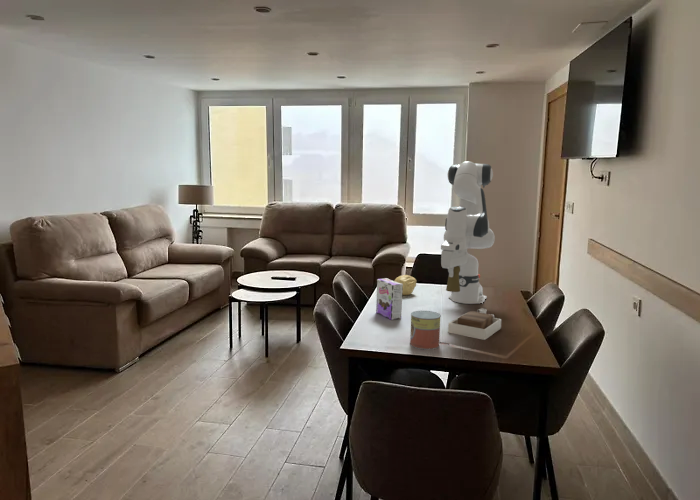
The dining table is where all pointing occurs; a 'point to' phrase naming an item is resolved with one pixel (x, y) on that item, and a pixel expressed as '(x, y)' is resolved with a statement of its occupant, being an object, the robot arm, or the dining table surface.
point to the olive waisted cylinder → (454, 281)
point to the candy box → (389, 298)
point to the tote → (474, 329)
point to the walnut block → (476, 319)
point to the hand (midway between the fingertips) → (454, 276)
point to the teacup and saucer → (483, 311)
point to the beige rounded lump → (406, 284)
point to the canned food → (425, 330)
